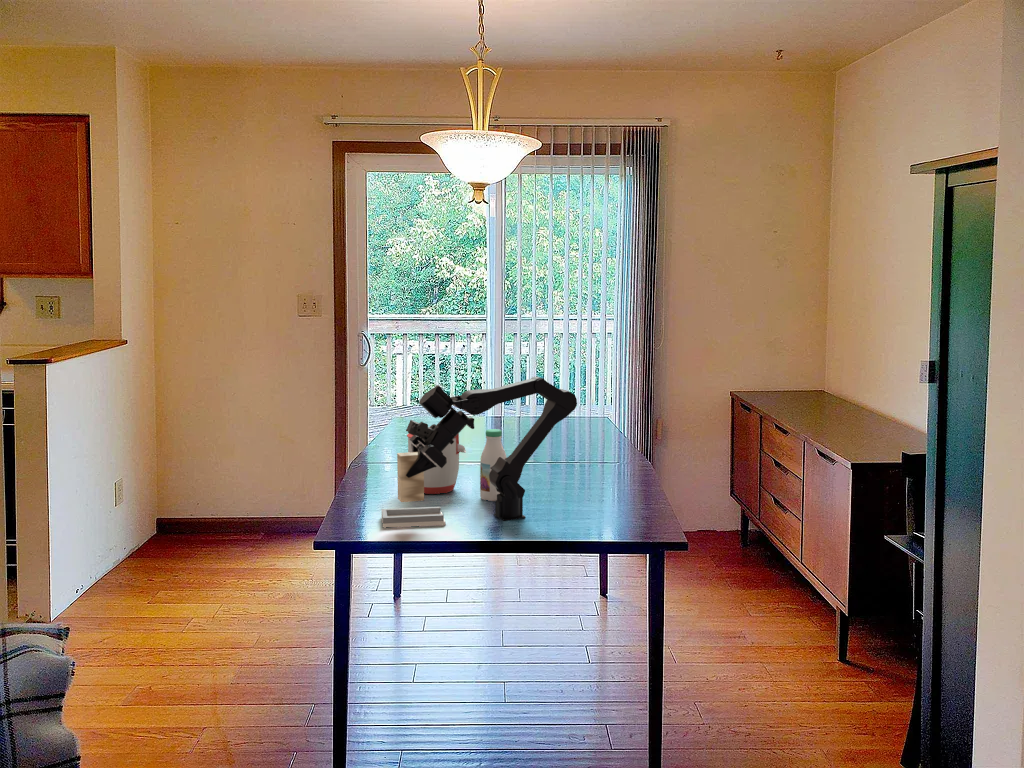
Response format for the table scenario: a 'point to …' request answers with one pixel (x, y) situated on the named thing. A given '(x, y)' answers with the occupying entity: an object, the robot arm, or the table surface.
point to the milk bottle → (490, 463)
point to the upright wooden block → (409, 479)
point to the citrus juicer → (442, 469)
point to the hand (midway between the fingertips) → (405, 474)
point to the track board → (412, 517)
